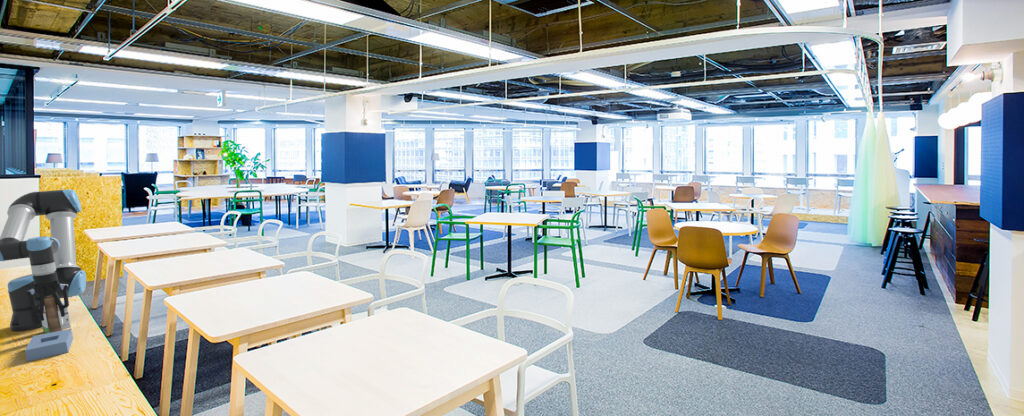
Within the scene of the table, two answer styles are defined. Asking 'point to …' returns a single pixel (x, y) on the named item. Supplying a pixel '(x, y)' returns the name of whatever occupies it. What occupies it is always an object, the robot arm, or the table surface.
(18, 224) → the robot arm
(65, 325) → the ink box
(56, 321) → the peg
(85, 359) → the table surface
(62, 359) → the table surface
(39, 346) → the socket block
